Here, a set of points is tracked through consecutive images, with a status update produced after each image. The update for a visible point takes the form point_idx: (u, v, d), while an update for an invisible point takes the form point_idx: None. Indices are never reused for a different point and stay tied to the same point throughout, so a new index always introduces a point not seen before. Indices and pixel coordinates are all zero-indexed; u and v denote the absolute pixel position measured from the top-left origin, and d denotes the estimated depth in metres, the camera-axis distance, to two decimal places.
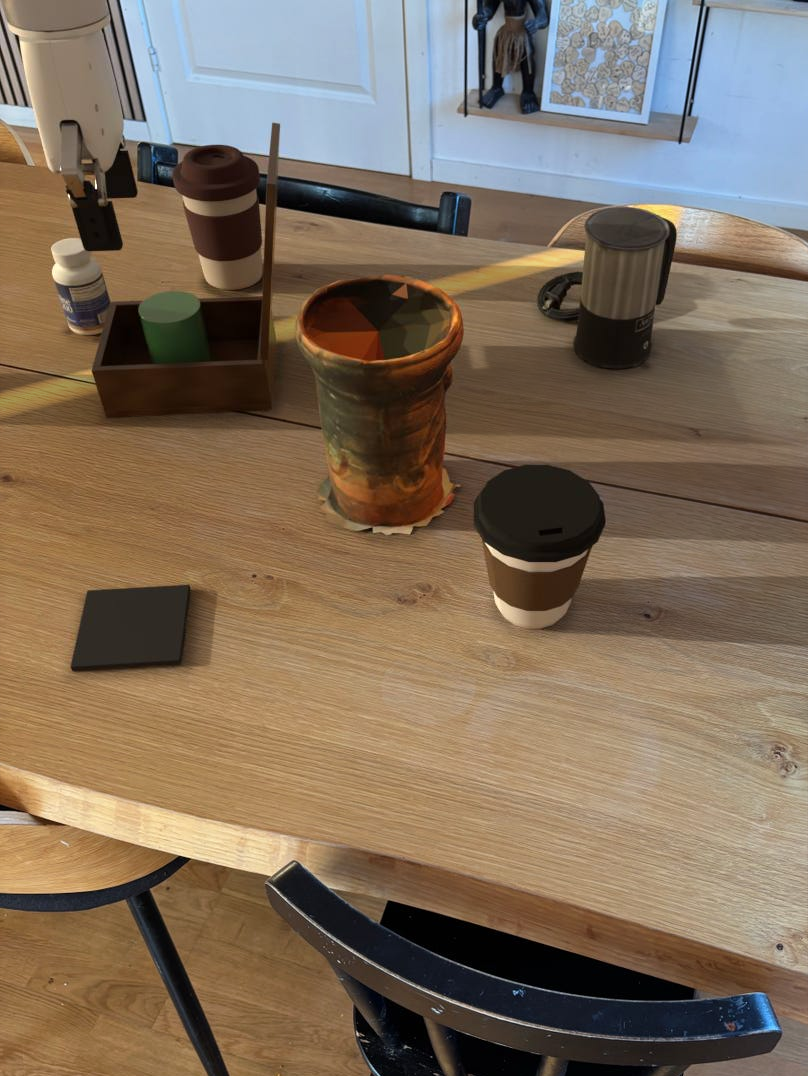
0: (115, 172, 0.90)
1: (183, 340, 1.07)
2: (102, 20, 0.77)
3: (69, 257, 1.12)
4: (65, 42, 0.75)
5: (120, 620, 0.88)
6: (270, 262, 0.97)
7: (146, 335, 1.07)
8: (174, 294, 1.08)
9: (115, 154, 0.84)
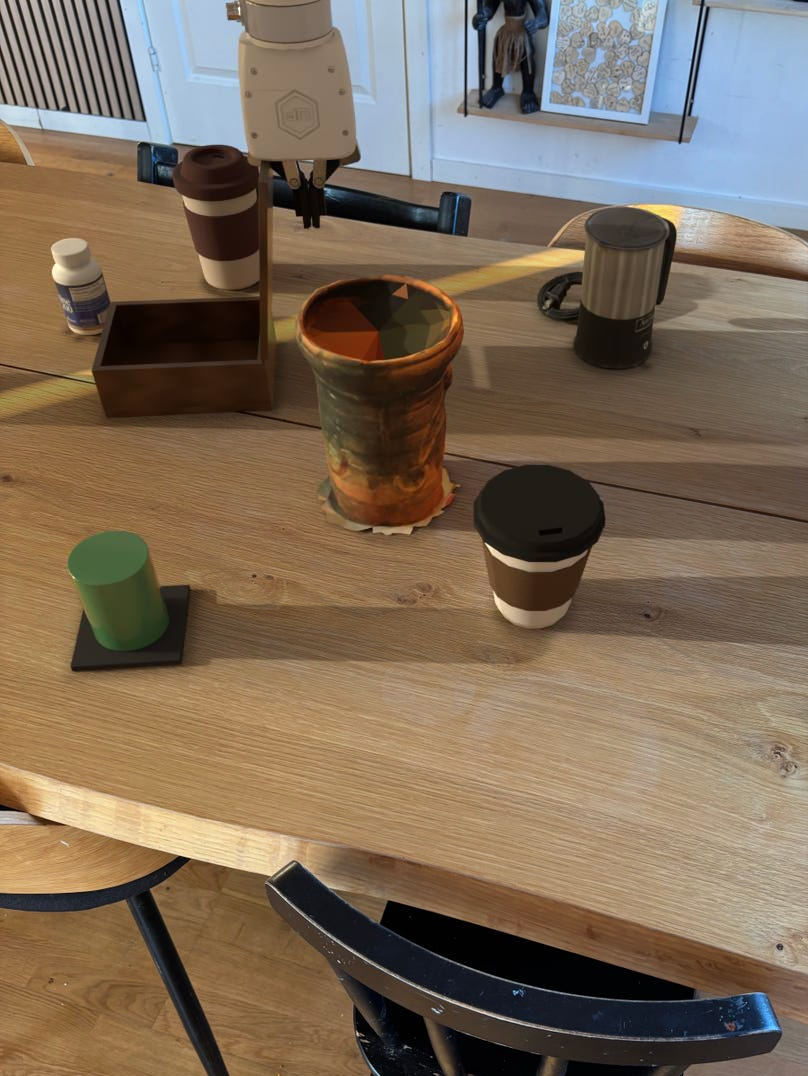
0: (308, 197, 1.00)
1: (126, 601, 0.82)
2: None
3: (69, 257, 1.12)
4: (338, 30, 0.90)
5: None
6: (266, 261, 0.97)
7: (78, 593, 0.82)
8: (115, 536, 0.83)
9: None
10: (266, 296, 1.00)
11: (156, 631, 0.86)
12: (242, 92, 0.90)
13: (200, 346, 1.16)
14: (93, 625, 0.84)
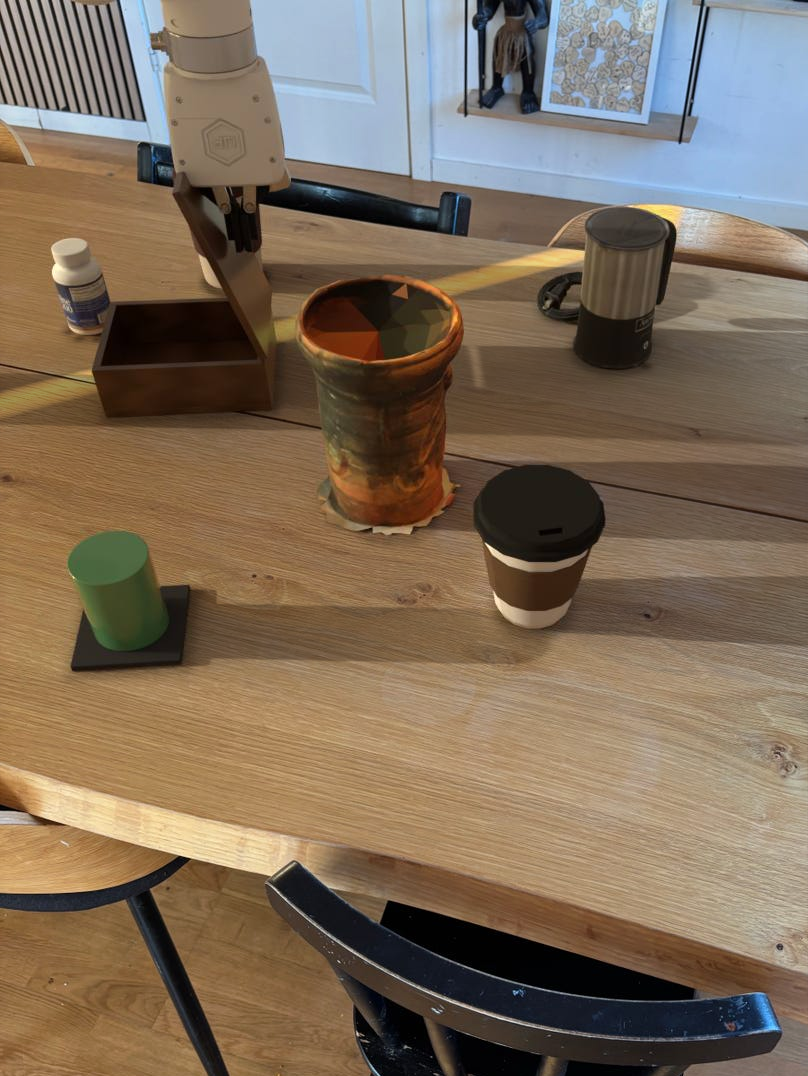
0: None
1: (126, 601, 0.82)
2: None
3: (69, 257, 1.12)
4: None
5: None
6: (217, 266, 0.97)
7: (78, 593, 0.82)
8: (115, 536, 0.83)
9: None
10: (234, 298, 1.00)
11: (156, 631, 0.86)
12: (168, 120, 0.91)
13: (200, 346, 1.16)
14: (93, 625, 0.84)
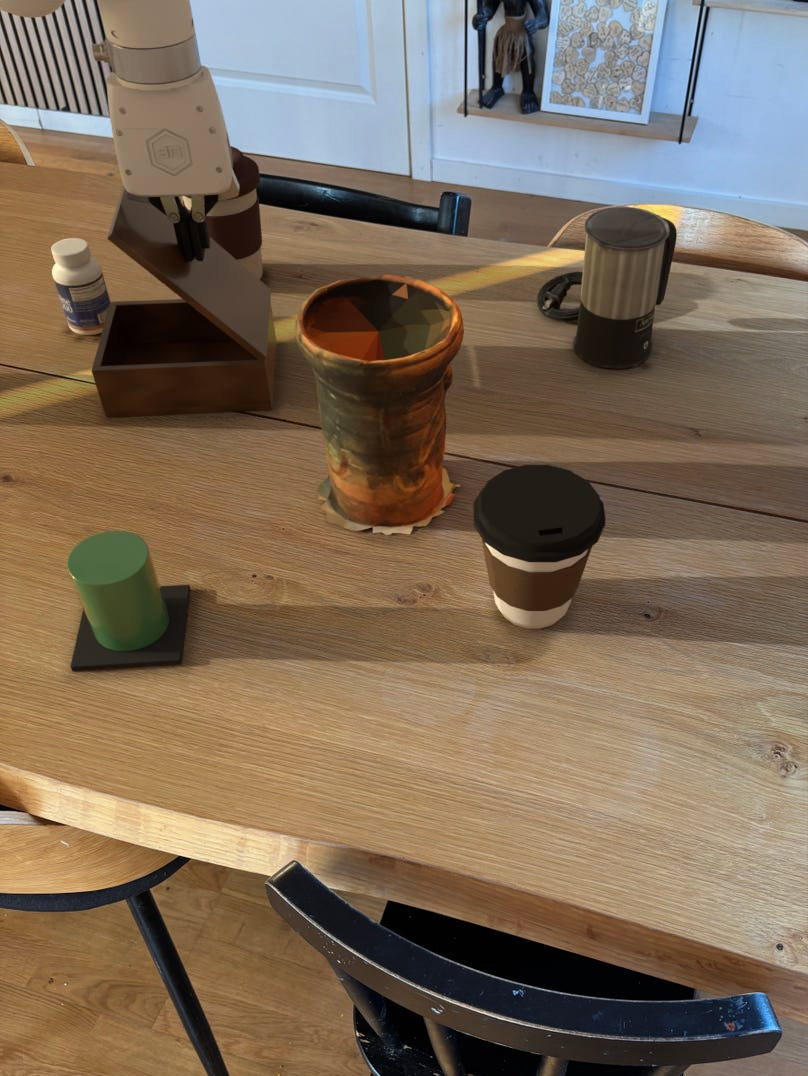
0: None
1: (126, 601, 0.82)
2: None
3: (69, 257, 1.12)
4: None
5: None
6: (178, 288, 0.98)
7: (78, 593, 0.82)
8: (115, 536, 0.83)
9: None
10: (209, 312, 1.01)
11: (156, 631, 0.86)
12: (113, 130, 0.91)
13: (200, 346, 1.16)
14: (93, 625, 0.84)
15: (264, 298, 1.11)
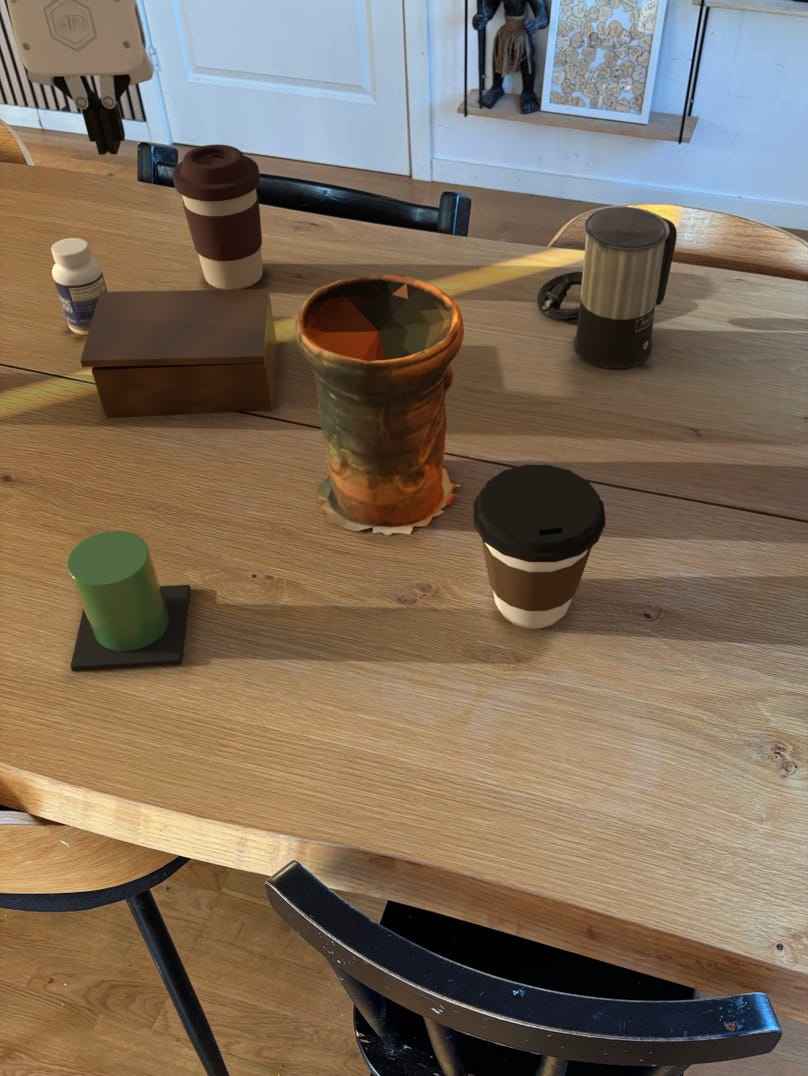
0: None
1: (126, 601, 0.82)
2: None
3: (69, 257, 1.12)
4: None
5: None
6: (156, 360, 1.04)
7: (78, 593, 0.82)
8: (115, 536, 0.83)
9: None
10: (192, 359, 1.04)
11: (156, 631, 0.86)
12: None
13: None
14: (93, 625, 0.84)
15: (259, 302, 1.12)
